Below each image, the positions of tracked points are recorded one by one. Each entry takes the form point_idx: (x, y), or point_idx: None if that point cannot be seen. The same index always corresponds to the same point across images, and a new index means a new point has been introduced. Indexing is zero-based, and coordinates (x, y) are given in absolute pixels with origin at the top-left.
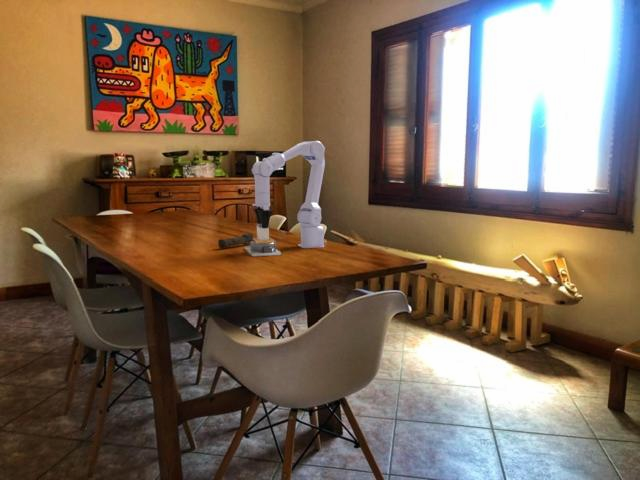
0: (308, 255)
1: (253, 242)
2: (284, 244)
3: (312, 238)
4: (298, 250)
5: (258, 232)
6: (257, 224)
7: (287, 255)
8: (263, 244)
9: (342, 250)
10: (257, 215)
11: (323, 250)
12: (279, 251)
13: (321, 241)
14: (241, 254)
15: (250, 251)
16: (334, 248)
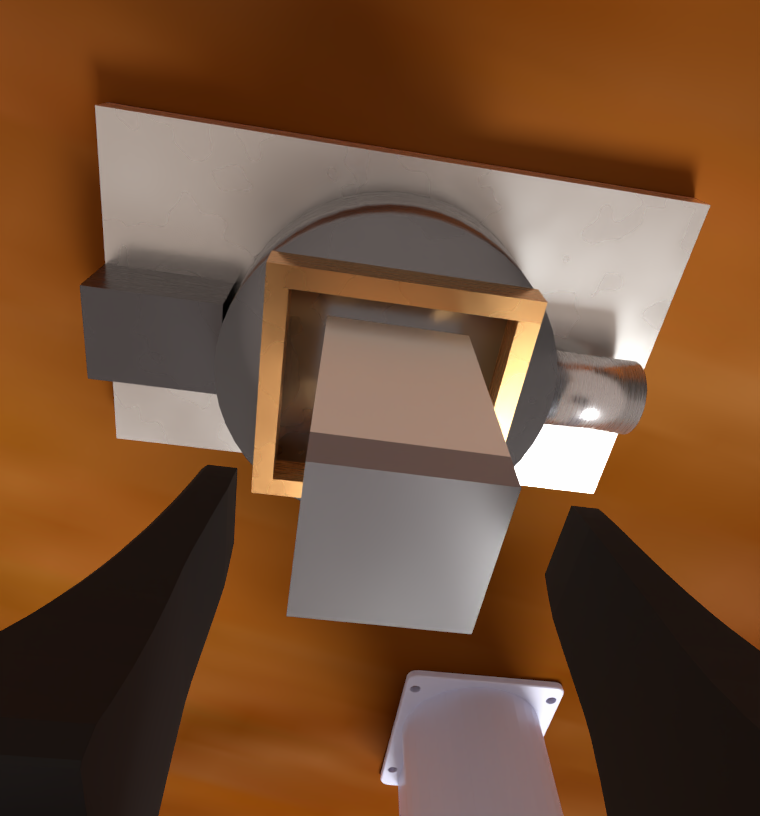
0: (38, 596)
1: (392, 254)
2: None
3: (406, 797)
4: None
5: (351, 387)
6: (446, 476)
7: (82, 464)
8: (220, 335)
9: (190, 805)
10: (673, 666)
11: (236, 733)
12: (174, 443)
13: (402, 810)
14: (322, 9)
15: (295, 148)
16: (289, 798)
